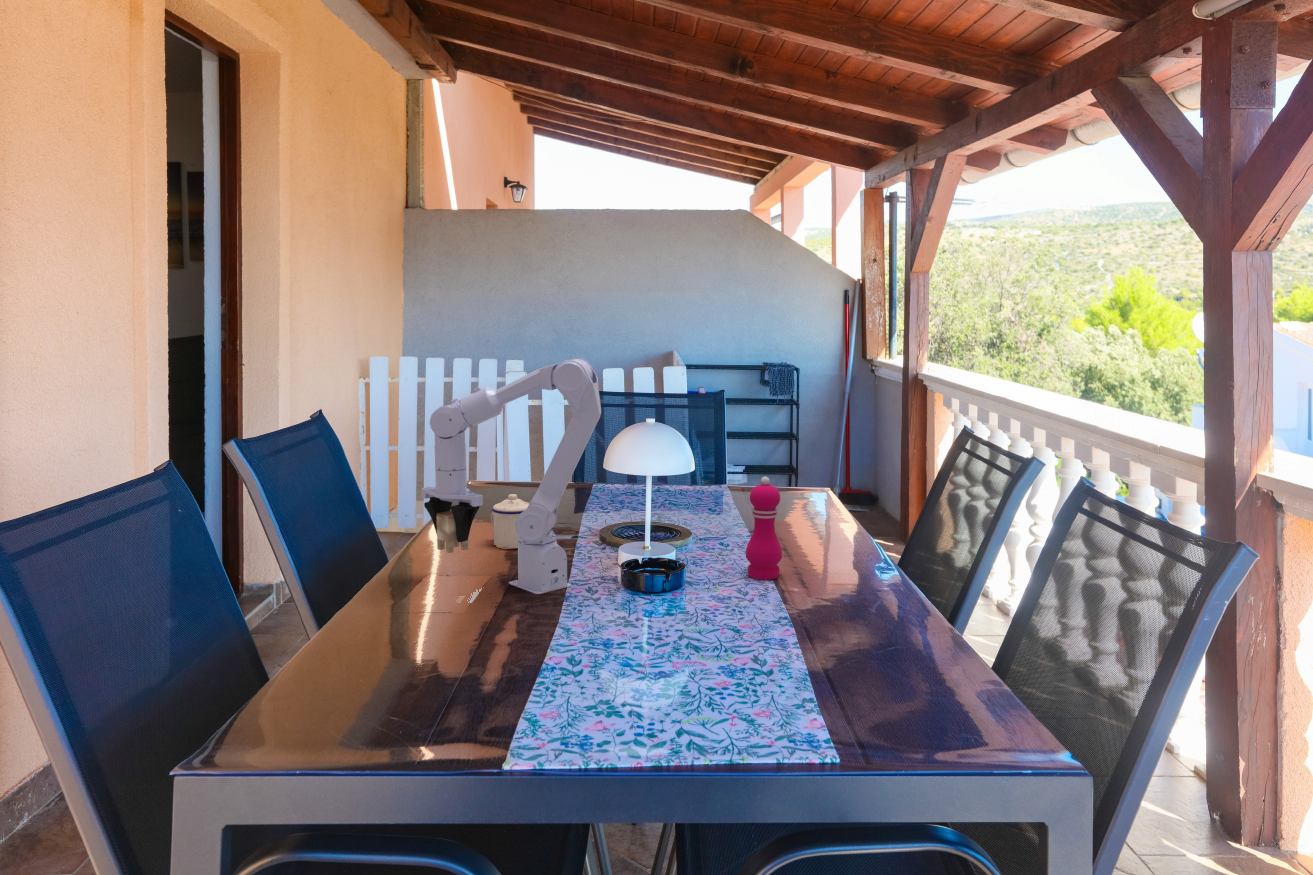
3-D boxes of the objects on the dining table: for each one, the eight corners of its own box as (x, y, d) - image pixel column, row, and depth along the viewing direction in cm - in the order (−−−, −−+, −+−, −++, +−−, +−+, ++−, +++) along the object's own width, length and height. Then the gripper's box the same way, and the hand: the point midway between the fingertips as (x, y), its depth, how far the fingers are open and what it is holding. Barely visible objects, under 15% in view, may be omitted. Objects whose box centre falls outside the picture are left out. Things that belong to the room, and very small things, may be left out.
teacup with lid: (542, 545, 200) (541, 494, 198) (510, 552, 193) (509, 500, 191) (508, 536, 208) (507, 487, 206) (476, 543, 201) (475, 493, 199)
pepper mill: (780, 581, 172) (782, 480, 170) (743, 579, 174) (745, 479, 171) (782, 571, 179) (785, 474, 177) (747, 569, 181) (748, 472, 178)
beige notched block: (468, 549, 169) (467, 513, 168) (448, 553, 166) (447, 516, 165) (456, 545, 172) (455, 510, 171) (437, 549, 169) (436, 513, 168)
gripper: (493, 469, 167) (495, 539, 168) (440, 462, 175) (442, 529, 176) (466, 474, 161) (468, 547, 163) (412, 467, 169) (414, 536, 171)
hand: (452, 538), depth 169 cm, fingers closed on beige notched block, 5 cm apart
